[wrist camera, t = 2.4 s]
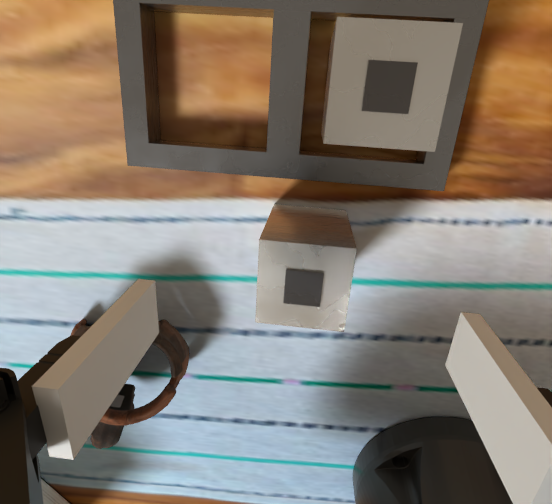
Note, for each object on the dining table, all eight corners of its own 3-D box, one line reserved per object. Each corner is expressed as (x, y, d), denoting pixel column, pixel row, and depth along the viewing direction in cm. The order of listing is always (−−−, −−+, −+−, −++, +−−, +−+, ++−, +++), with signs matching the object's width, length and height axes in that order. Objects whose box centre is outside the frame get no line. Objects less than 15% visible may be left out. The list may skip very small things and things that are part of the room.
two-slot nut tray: (476, -4, 20) (492, -15, 18) (434, 184, 24) (443, 191, 22) (127, -20, 22) (110, -32, 20) (141, 161, 26) (127, 165, 24)
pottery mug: (72, 284, 31) (58, 318, 23) (186, 289, 35) (205, 320, 27) (60, 416, 32) (43, 488, 25) (170, 407, 36) (184, 467, 29)
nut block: (345, 210, 26) (357, 249, 18) (336, 274, 27) (344, 333, 20) (274, 203, 26) (258, 240, 19) (270, 268, 28) (254, 323, 21)
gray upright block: (415, 49, 22) (464, 22, 15) (399, 138, 23) (435, 152, 16) (330, 44, 22) (337, 16, 15) (321, 132, 24) (323, 144, 17)
